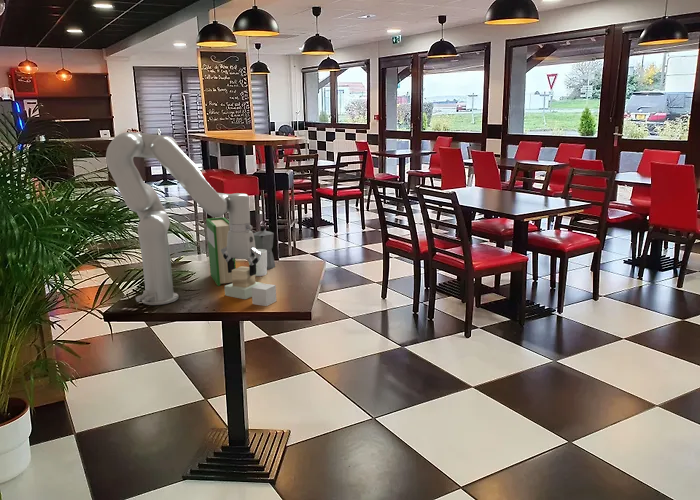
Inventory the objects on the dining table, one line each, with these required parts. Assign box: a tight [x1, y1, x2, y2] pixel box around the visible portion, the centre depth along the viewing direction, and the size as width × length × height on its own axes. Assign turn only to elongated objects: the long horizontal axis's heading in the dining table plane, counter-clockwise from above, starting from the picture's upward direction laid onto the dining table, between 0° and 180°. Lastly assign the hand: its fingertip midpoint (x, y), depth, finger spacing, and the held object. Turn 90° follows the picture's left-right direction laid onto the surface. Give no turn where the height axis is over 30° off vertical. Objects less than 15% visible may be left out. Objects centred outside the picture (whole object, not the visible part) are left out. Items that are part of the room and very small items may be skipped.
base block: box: [223, 281, 262, 300], centre depth 211 cm, size 10×10×4 cm
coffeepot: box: [253, 226, 276, 270], centre depth 249 cm, size 15×9×18 cm, turn 4°
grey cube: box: [251, 282, 277, 307], centre depth 200 cm, size 6×6×6 cm
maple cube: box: [231, 266, 257, 288], centre depth 210 cm, size 6×6×6 cm
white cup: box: [248, 249, 268, 277], centre depth 237 cm, size 8×8×10 cm
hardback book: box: [205, 216, 237, 287], centre depth 229 cm, size 18×7×24 cm, turn 22°
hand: (242, 273), depth 210 cm, fingers open, 9 cm apart
